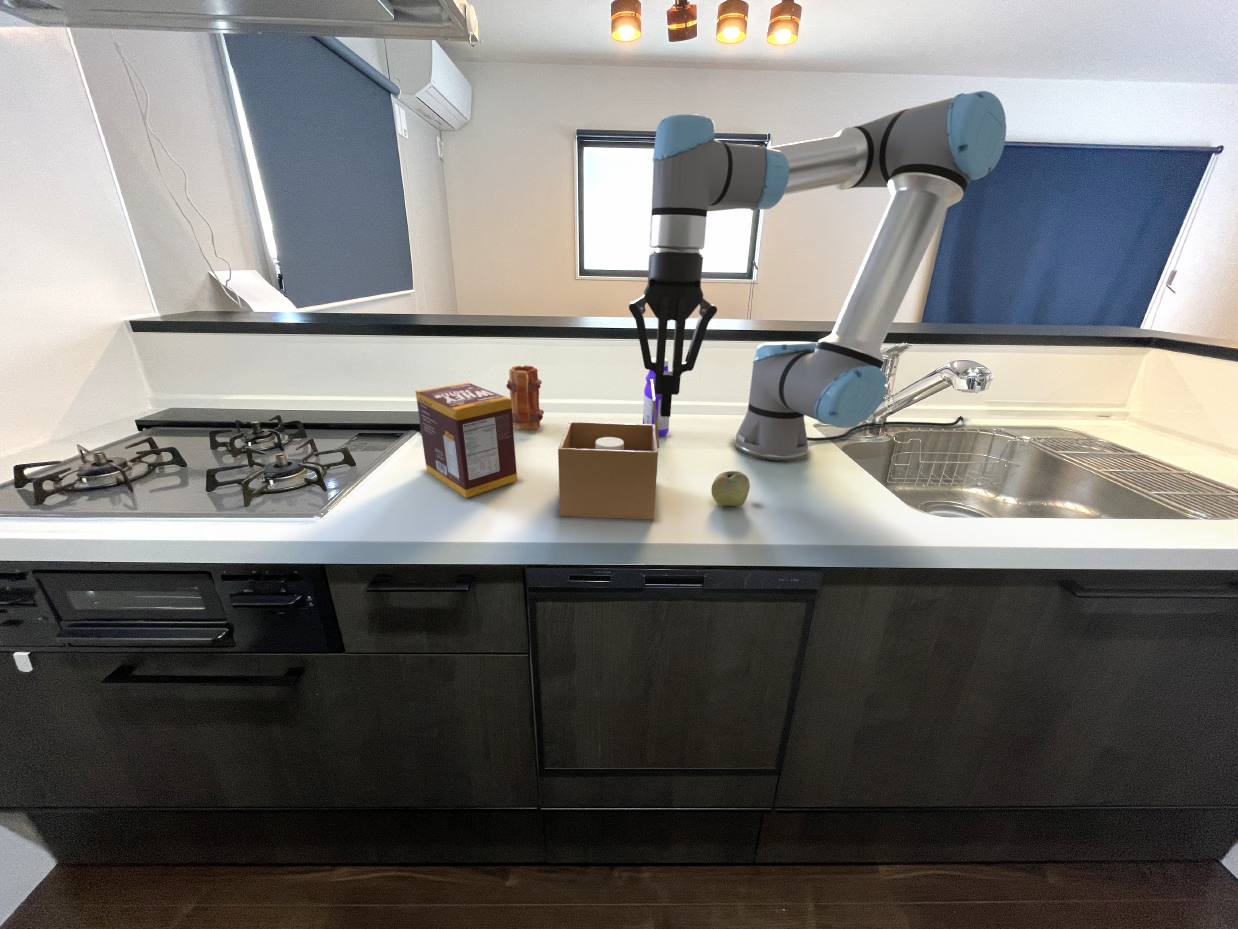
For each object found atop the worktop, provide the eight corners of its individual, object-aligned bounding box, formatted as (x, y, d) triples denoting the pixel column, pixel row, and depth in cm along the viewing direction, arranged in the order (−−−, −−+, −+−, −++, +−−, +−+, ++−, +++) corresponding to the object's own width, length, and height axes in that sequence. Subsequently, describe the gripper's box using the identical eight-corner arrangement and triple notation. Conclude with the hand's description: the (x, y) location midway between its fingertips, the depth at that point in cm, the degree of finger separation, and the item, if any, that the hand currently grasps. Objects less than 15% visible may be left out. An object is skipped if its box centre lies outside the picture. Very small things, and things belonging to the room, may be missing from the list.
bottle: (671, 438, 113) (677, 362, 106) (647, 439, 111) (651, 362, 104) (661, 427, 119) (666, 355, 112) (639, 429, 118) (642, 356, 111)
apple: (762, 510, 82) (767, 477, 80) (717, 514, 80) (721, 481, 78) (745, 493, 87) (750, 463, 85) (703, 497, 85) (706, 466, 83)
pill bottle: (621, 505, 81) (623, 449, 77) (588, 501, 82) (588, 445, 78) (628, 490, 86) (630, 437, 82) (596, 487, 87) (597, 434, 83)
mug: (510, 421, 120) (506, 360, 114) (544, 421, 121) (542, 360, 115) (504, 443, 107) (499, 375, 101) (542, 442, 108) (540, 375, 102)
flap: (654, 421, 85) (656, 420, 85) (656, 448, 73) (659, 448, 73) (650, 379, 82) (652, 379, 82) (652, 400, 70) (655, 400, 70)
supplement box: (475, 457, 99) (467, 381, 93) (518, 481, 90) (512, 398, 83) (425, 470, 93) (413, 390, 87) (466, 499, 83) (456, 409, 77)
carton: (651, 484, 90) (655, 424, 85) (653, 519, 78) (658, 452, 73) (570, 481, 90) (569, 421, 86) (559, 516, 78) (558, 448, 74)
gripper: (719, 252, 72) (703, 408, 81) (629, 250, 72) (624, 405, 81) (727, 252, 65) (709, 423, 74) (629, 249, 65) (623, 419, 74)
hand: (665, 413), depth 78 cm, fingers closed
